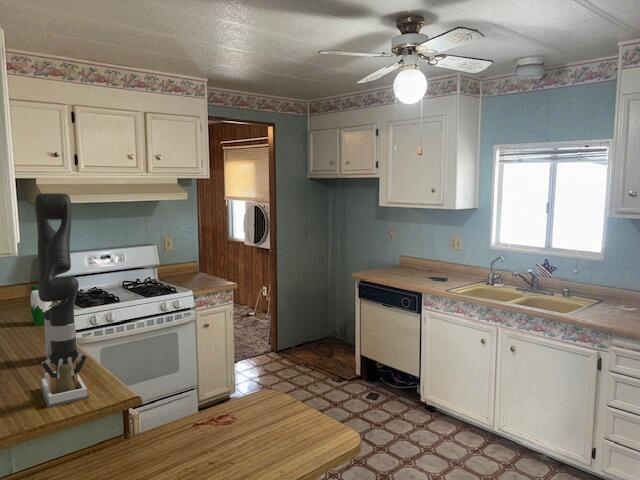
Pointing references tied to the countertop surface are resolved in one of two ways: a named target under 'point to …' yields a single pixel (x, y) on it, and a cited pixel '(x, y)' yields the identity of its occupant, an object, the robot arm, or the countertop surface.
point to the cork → (64, 379)
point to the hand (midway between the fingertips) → (65, 386)
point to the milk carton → (38, 306)
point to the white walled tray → (63, 397)
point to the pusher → (54, 380)
